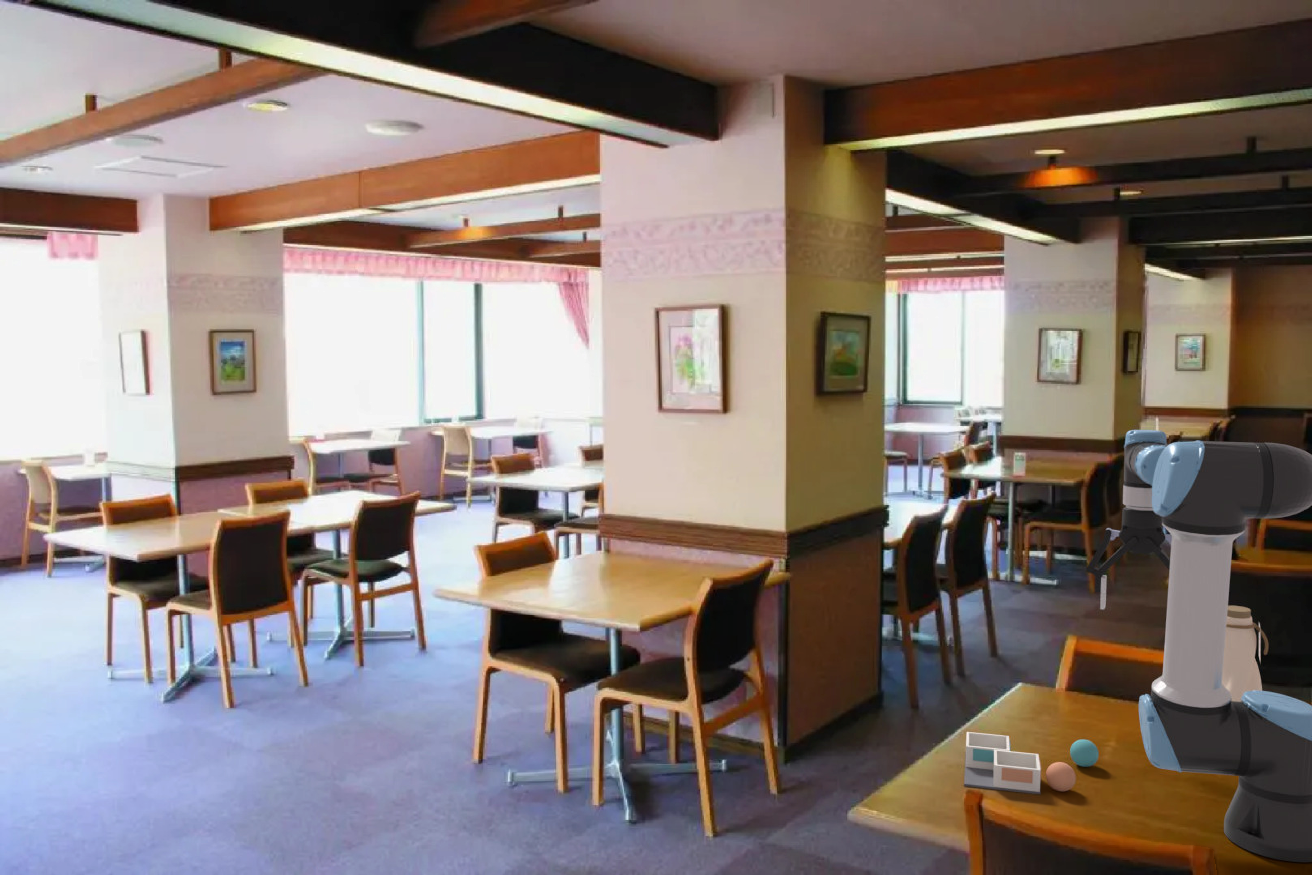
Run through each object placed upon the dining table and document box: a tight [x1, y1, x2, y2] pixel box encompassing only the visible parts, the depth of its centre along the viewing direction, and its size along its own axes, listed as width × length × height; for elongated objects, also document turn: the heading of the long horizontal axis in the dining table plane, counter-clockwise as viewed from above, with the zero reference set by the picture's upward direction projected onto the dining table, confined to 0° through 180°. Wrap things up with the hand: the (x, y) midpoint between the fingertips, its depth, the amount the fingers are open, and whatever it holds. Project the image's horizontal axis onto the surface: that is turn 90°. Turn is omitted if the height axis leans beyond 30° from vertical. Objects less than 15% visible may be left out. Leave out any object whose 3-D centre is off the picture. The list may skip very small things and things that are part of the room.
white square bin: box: [965, 731, 1012, 770], centre depth 206 cm, size 8×8×4 cm
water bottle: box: [1222, 605, 1269, 702], centre depth 212 cm, size 10×9×28 cm
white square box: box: [993, 750, 1042, 793], centre depth 197 cm, size 8×8×4 cm
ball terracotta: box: [1045, 761, 1077, 792], centre depth 194 cm, size 5×5×5 cm
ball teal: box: [1069, 738, 1099, 768], centre depth 205 cm, size 5×5×5 cm
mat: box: [963, 753, 1041, 795], centre depth 201 cm, size 16×13×1 cm
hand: (1139, 612), depth 218 cm, fingers open, 13 cm apart
